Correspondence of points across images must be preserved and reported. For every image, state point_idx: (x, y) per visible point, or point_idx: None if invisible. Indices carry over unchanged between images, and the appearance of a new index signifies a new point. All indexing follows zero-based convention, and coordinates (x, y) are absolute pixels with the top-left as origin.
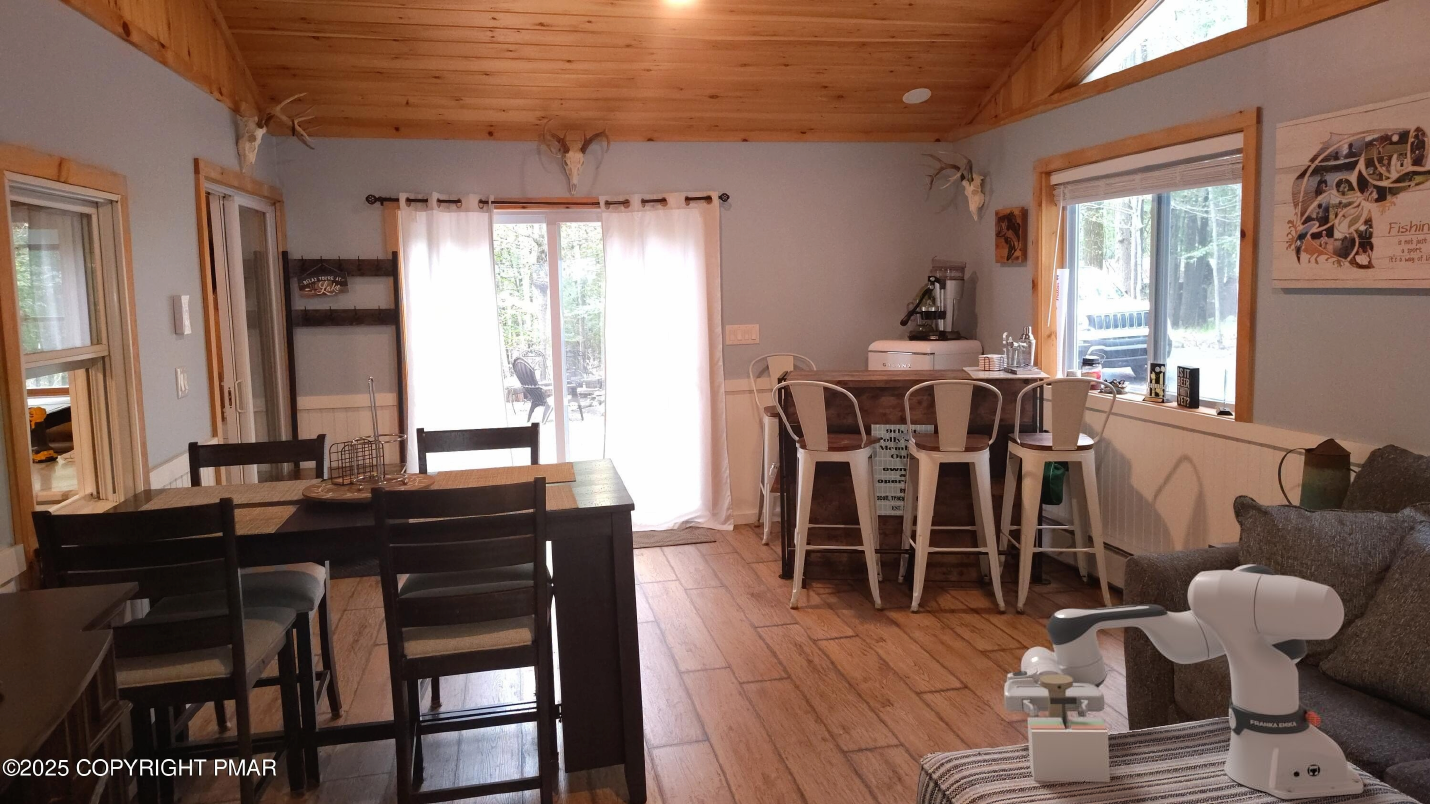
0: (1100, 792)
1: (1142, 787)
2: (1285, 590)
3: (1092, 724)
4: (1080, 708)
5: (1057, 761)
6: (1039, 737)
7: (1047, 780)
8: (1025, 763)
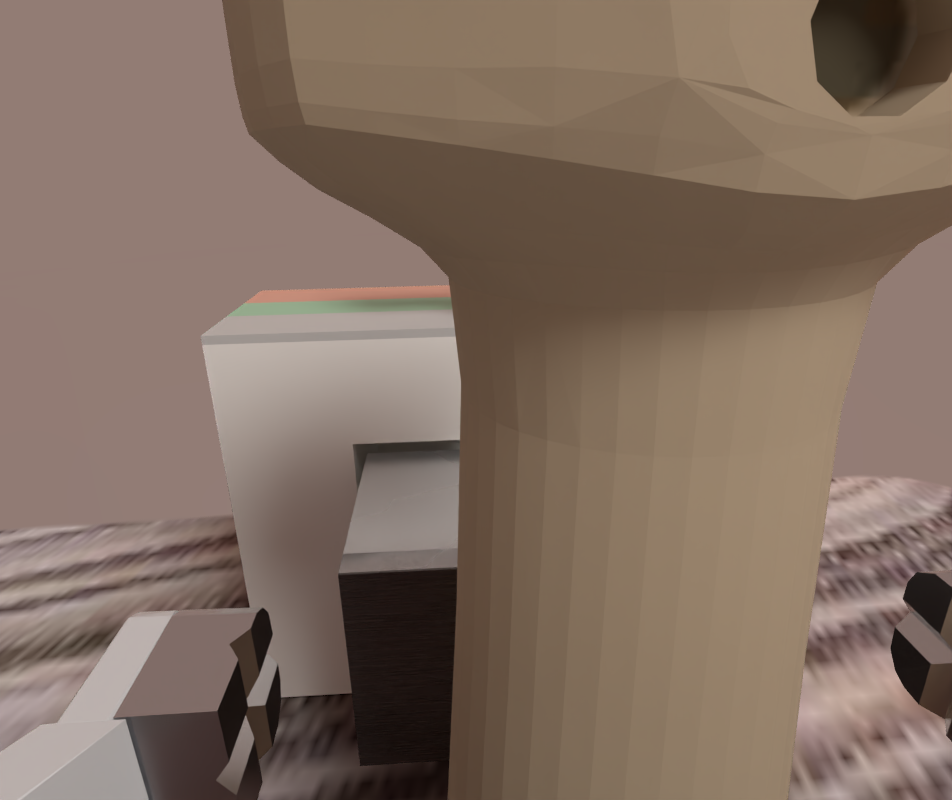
0: None
1: (175, 544)
2: None
3: (329, 302)
4: (221, 615)
5: None
6: None
7: None
8: (815, 706)
